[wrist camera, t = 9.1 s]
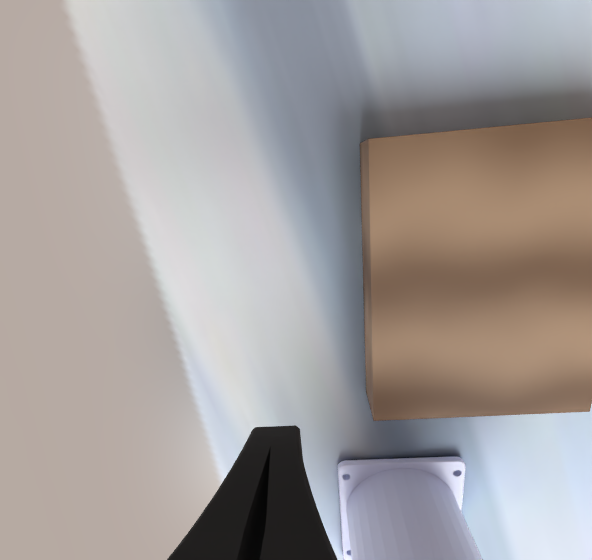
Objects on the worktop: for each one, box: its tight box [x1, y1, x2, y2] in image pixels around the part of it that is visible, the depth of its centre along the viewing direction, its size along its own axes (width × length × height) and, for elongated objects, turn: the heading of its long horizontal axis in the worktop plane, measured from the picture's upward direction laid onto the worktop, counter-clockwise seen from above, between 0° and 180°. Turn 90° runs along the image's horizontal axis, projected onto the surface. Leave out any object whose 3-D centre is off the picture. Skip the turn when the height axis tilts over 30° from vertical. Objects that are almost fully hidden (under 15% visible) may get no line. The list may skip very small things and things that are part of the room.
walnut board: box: [360, 118, 592, 421], centre depth 17 cm, size 14×11×2 cm
